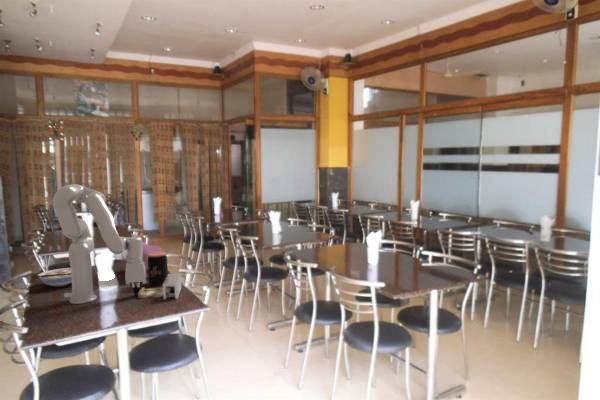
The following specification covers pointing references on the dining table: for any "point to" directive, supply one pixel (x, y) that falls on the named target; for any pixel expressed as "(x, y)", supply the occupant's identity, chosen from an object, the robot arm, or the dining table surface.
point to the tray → (152, 292)
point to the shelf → (172, 285)
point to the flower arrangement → (147, 252)
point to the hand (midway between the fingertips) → (136, 294)
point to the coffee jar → (157, 268)
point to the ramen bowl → (56, 277)
